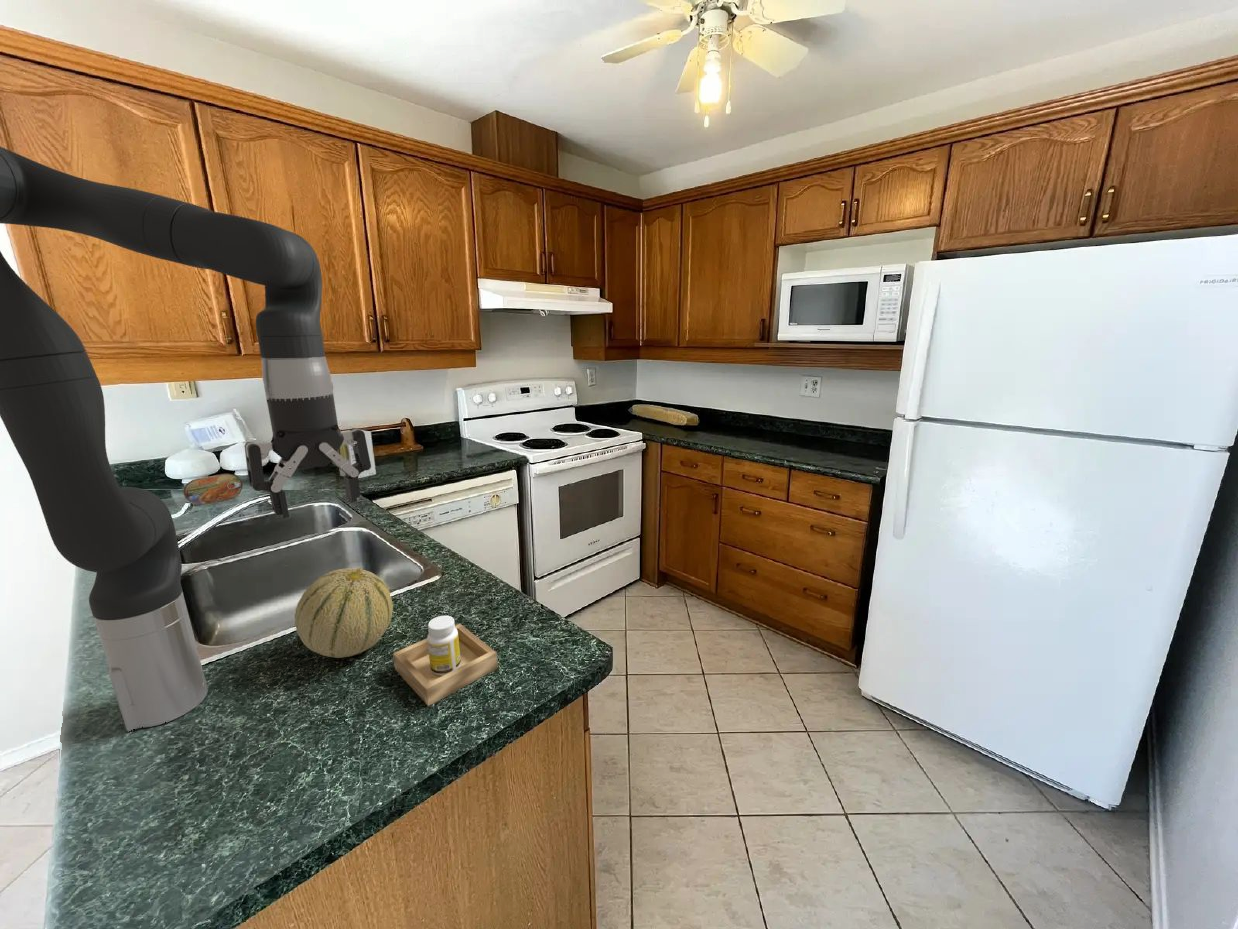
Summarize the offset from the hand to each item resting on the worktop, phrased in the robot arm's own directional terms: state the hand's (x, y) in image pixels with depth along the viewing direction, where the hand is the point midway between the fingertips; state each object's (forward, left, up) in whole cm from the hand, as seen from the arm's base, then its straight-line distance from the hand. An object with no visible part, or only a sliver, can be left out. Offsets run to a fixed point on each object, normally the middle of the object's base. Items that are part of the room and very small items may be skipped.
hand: (319, 508), depth 70 cm
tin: (+1, +125, -30) cm, 129 cm away
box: (+13, -6, -30) cm, 33 cm away
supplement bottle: (+13, -6, -30) cm, 33 cm away
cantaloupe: (+4, +11, -30) cm, 32 cm away
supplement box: (+44, +123, -30) cm, 134 cm away
